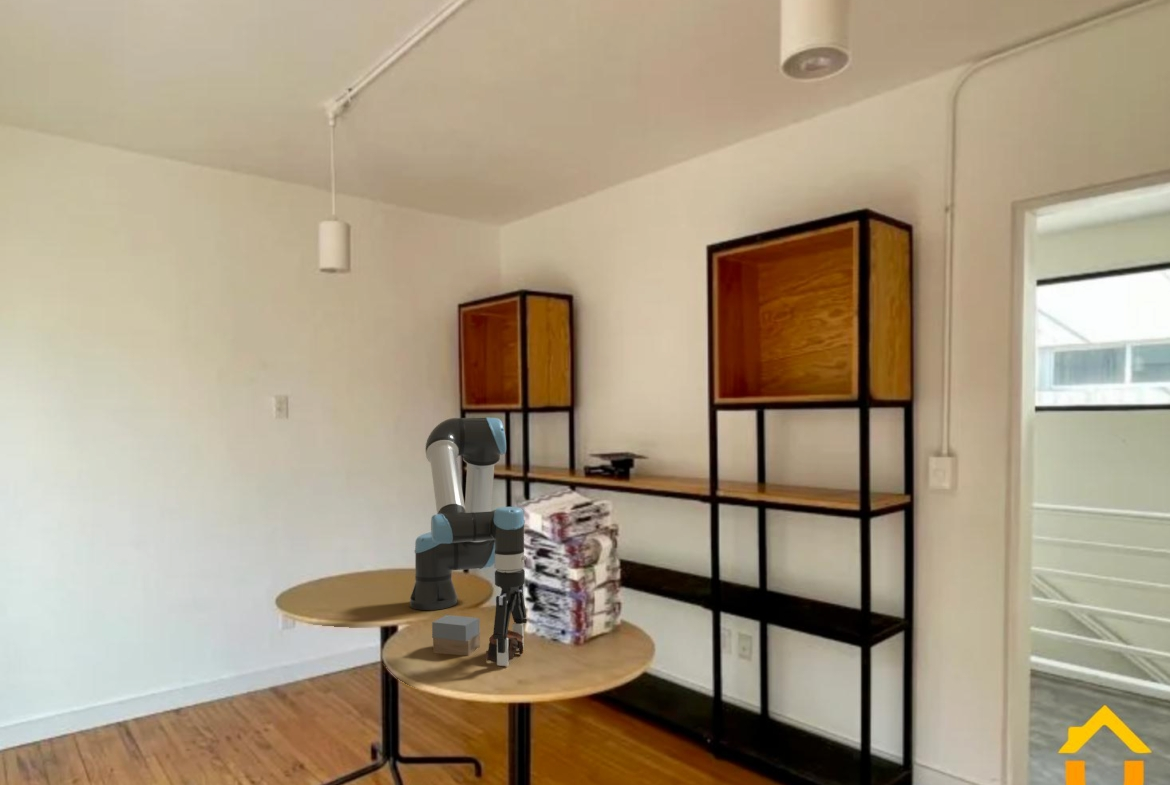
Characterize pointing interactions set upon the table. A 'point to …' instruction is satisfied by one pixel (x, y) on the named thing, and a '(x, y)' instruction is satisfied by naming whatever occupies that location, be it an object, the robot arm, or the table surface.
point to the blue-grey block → (455, 628)
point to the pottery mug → (513, 644)
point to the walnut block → (456, 646)
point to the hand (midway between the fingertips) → (510, 657)
